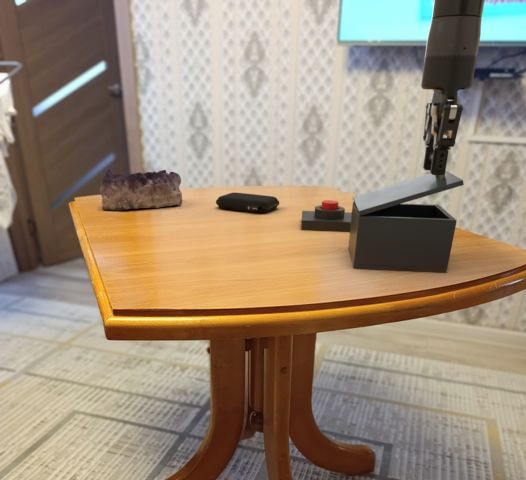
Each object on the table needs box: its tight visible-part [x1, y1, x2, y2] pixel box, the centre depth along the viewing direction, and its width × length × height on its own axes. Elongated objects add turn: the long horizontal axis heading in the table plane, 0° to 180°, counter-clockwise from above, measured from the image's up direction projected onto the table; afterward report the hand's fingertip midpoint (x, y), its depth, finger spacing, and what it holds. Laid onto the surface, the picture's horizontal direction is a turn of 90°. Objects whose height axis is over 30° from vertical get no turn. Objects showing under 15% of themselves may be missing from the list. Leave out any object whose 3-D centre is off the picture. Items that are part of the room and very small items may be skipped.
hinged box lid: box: [352, 151, 464, 216], centre depth 85 cm, size 16×13×5 cm
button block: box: [300, 204, 352, 233], centre depth 113 cm, size 12×10×4 cm
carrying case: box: [215, 192, 280, 214], centre depth 127 cm, size 11×3×15 cm
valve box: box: [347, 201, 457, 274], centre depth 90 cm, size 16×13×9 cm
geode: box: [99, 169, 183, 212], centre depth 126 cm, size 20×12×10 cm, turn 125°
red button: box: [321, 199, 339, 210], centre depth 112 cm, size 4×4×2 cm
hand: (433, 171), depth 84 cm, fingers closed on hinged box lid, 5 cm apart
